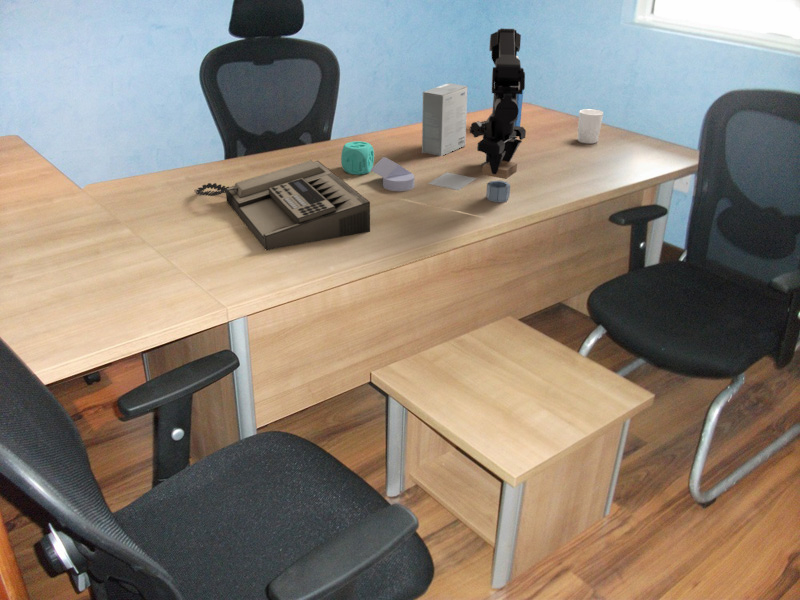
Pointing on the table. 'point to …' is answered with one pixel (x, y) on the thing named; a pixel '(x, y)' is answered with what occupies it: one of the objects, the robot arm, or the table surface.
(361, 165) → the decorative dice
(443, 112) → the hard drive box
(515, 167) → the block
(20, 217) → the table surface
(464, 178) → the mat
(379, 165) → the wedge on round base
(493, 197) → the grey ring collar
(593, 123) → the white cup
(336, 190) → the fax machine
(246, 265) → the table surface
